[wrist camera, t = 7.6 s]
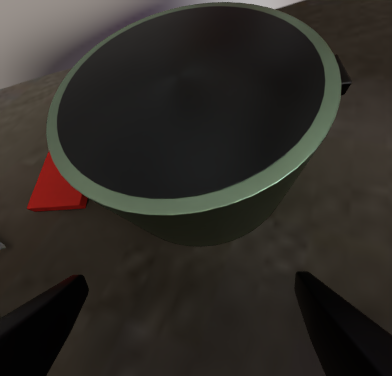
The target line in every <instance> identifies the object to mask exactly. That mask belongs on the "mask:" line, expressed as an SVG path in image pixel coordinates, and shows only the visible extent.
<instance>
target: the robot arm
mask: <svg viewBox="0 0 392 376" xmlns="http://www.w3.org/2000/svg"><path fill="white" fill-rule="evenodd" d="M88 292H89V288H88V285H87V283H86V280H85V278H84V276H83V275H72V276H70V277H68V278H67V279H65V280H63V281H62V282H60V283H58V284H57V285H55V286H53V287H52V288H50V289H48V290H47V291H45V292H43V293H42V294H40V295H38V296H37V297H35V298H33V299H32V300H30V301H28V302H27V303H25V304H23V305H22V306H20V307H18V308H17V309H15V310H13V311H12V312H10V313H8V314H7V315H5V316H3V317H2V318H0V376H46V375H47V373H48V371H49V370H50V368H51V366H52V364H53V362H54V361H55V359H56V357H57V355H58V353H59V352H60V350H61V348H62V346H63V345H64V343H65V341H66V339H67V337H68V335H69V334H70V332H71V330H72V328H73V326H74V323H75V321H76V319H77V317H78V315H79V313H80V310H81V308H82V306H83V304H84V302H85V300H86V297H87V295H88ZM295 294H296V297H297V300H298V303H299V306H300V309H301V312H302V315H303V318H304V322H305V325H306V328H307V331H308V334H309V337H310V339H311V342H312V344H313V347H314V349H315V351H316V354H317V356H318V358H319V361H320V363H321V365H322V368H323V370H324V372H325V375H326V376H392V335H391V334H389V333H388V332H387V331H385V330H384V329H383V328H382V327H380V326H379V325H378V324H376V323H375V322H374V321H372V320H371V319H370V318H368V317H367V316H366V315H364V314H363V313H362V312H361V311H359V310H358V309H357V308H355V307H354V306H353V305H351V304H350V303H349V302H347V301H346V300H345V299H343V298H342V297H341V296H340V295H338V294H337V293H336V292H334V291H333V290H332V289H330V288H329V287H328V286H326V285H325V284H324V283H323V282H321V281H320V280H319V279H317V278H316V277H315V276H313V275H312V274H311V273H309V272H307V271H298V272H296V275H295Z"/></svg>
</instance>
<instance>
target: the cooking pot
mask: <svg viewBox="0 0 392 376" xmlns="http://www.w3.org/2000/svg"><path fill="white" fill-rule="evenodd" d="M351 83H352V81H351V79H350V77H349V75H348V73H347V72H346V70H345V68H344V66H343V64H342V62H341V60H340V58H339V56H338V55H337V54H336V55H334V54H333V52H332V51H331V49H330V48H329V46H328V45H327V43H326V42H325V41H324V40H323V39H322V38H321V37H320V35H319V34H318V33H317V32H315V31H314V30H313V29H312V28H310V27H309V26H308V25H306V24H305V23H303V22H302V21H300V20H298V19H296V18H295V17H293V16H290V15H288V14H286V13H283V12H281V11H278V10H274V9H271V8H268V7H263V6H258V5H254V4H245V3H231V2H220V3H219V2H218V3H203V4H195V5H189V6H183V7H179V8H175V9H170V10H167V11H164V12H160V13H157V14H154V15H152V16H149V17H146V18H144V19H141V20H139V21H137V22H134V23H132V24H130V25H128V26H126V27H125V28H122V29H121V30H119V31H117V32H115V33H114V34H112V35H111V36H109V37H107V38H106V39H104V40H103V41H102V42H100V43H99V44H98V45H96V46H95V47H94V48H93V49H91V50H90V51H89V52H88V53H87V54H85V56H84V57H82V58H81V60H80V61H79V62H77V63H76V64H75V66H74V67H73V68H72V69H71V70H70V72H69V73H68V74H67V75H66V77H65V78H64V80H63V81H62V83H61V84H60V86H59V88H58V90H57V92H56V94H55V96H54V98H53V101H52V103H51V106H50V109H49V113H48V118H47V129H46V136H47V143H48V149H49V152H50V155H51V157H52V160H53V162H54V164H55V166H56V167H57V169H58V171H59V172H60V174H61V175H62V176H63V177H64V178H65V180H66V181H67V182H68V183H69V184H70V185H71V186H72V187H73V188H75V189H76V190H77V191H79V192H80V193H81V194H83V195H84V196H86V197H87V198H89V199H91V200H92V201H94V202H96V203H98V204H100V205H101V206H103V207H105V208H107V209H109V210H110V211H112V212H114V213H116V214H118V215H119V216H121V217H123V218H125V219H126V220H128V221H130V222H132V223H134V224H135V225H137V226H139V227H141V228H143V229H144V230H146V231H148V232H150V233H151V234H153V235H155V236H157V237H159V238H161V239H163V240H166V241H169V242H172V243H175V244H180V245H185V246H199V247H202V246H213V245H218V244H222V243H226V242H230V241H232V240H235V239H237V238H240V237H242V236H244V235H246V234H247V233H249V232H251V231H253V230H254V229H255V228H257V227H258V226H259V225H261V224H262V223H263V222H264V221H265V220H266V219H267V218H268V217H269V216H270V215H271V214H272V213H273V211H274V210H275V209H276V207H277V206H278V204H279V203H280V202H281V200H282V199H283V197H284V196H285V194H286V193H287V192H288V190H289V189H290V187H291V186H292V184H293V183H294V181H295V180H296V179H297V177H298V176H299V174H300V173H301V171H302V170H303V168H304V167H305V166H306V164H307V163H308V161H309V160H310V158H311V157H312V156H313V154H314V153H315V151H316V150H317V148H318V147H319V145H320V144H321V143H322V141H323V140H324V138H325V137H326V135H327V134H328V132H329V130H330V128H331V126H332V124H333V122H334V120H335V118H336V114H337V111H338V107H339V103H340V100H341V95H344V94H345V93H346V91H347V90H348V88H349V86H350V85H351Z"/></svg>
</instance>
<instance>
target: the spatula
mask: <svg viewBox="0 0 392 376" xmlns="http://www.w3.org/2000/svg"><path fill="white" fill-rule="evenodd" d="M87 200H88V198H87V197H86V196H84V195H83V194H81V193H80V192H79V191H77V190H76V189H75V188H73V187H72V186H71V185H70V184H69V183H68V182H67V181H66V180H65V178H64V177H63V176H62V175H61V174H60V172H59V171H58V169H57V167H56V166H55V164H54V162H53V160H52V157H51V155H50V152H48V154H47V157H46V159H45V162H44V165H43V167H42V170H41V173H40V175H39V178H38V180H37V183H36V186H35V188H34V191H33V193H32V196H31V199H30V201H29V204H28V206H27V209H29V210H32V211H35V212H36V211H51V210H66V209H82V208H86V204H87Z"/></svg>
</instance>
